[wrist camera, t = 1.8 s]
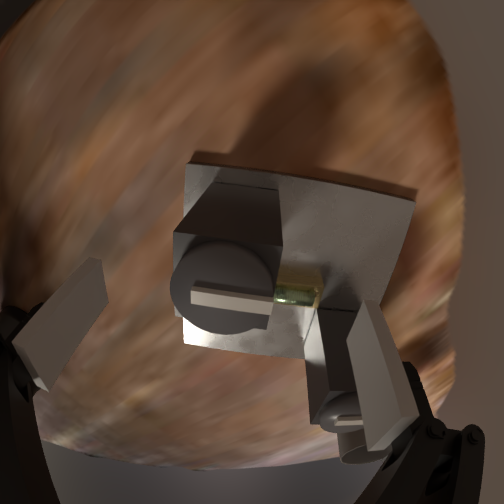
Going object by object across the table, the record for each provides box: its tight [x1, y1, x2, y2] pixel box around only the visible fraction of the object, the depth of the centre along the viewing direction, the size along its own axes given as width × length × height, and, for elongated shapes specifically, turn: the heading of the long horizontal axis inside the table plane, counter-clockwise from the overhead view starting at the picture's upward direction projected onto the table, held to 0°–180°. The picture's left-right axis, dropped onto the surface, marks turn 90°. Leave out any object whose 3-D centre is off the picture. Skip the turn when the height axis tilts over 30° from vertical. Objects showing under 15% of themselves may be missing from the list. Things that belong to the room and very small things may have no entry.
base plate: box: [183, 162, 416, 359], centre depth 27 cm, size 20×20×1 cm
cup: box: [337, 428, 392, 465], centre depth 32 cm, size 8×8×10 cm
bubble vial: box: [273, 272, 324, 309], centre depth 26 cm, size 6×2×3 cm, turn 83°
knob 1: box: [170, 182, 283, 335], centre depth 19 cm, size 5×5×11 cm
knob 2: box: [304, 309, 364, 433], centre depth 24 cm, size 5×5×11 cm
